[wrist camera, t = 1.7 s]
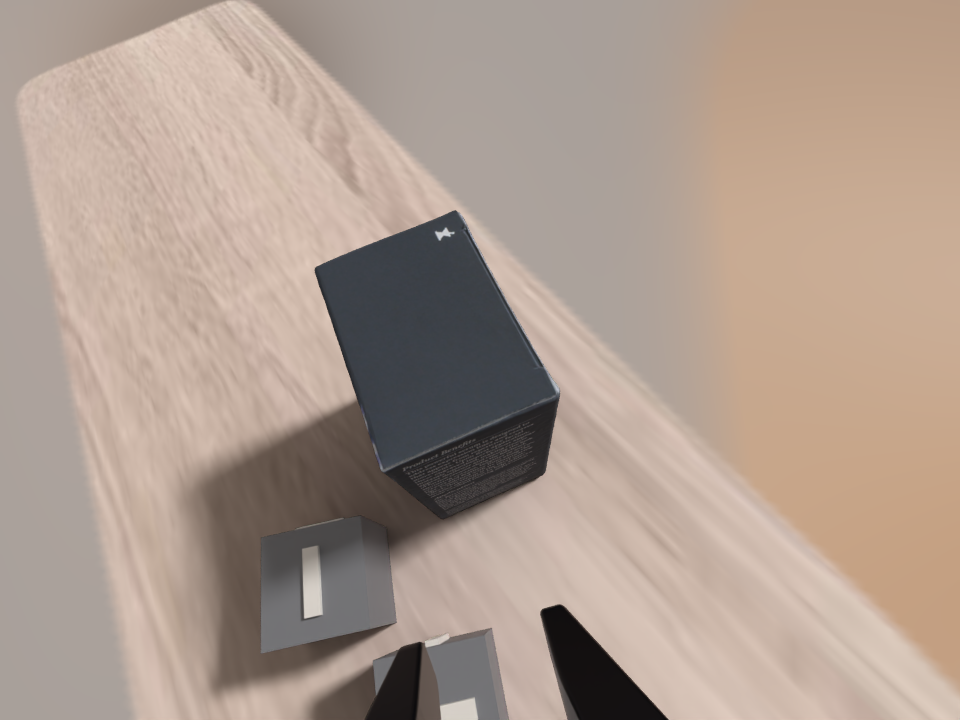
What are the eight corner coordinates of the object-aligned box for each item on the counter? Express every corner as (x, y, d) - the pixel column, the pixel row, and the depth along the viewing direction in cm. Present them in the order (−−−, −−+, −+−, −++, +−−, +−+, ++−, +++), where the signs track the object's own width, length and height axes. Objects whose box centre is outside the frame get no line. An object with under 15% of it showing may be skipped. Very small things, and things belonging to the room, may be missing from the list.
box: (388, 384, 26) (308, 262, 16) (485, 344, 26) (462, 203, 17) (439, 524, 22) (377, 474, 13) (549, 475, 23) (567, 392, 13)
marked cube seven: (397, 622, 21) (368, 629, 17) (306, 642, 21) (257, 654, 17) (386, 523, 23) (358, 509, 19) (303, 541, 23) (258, 531, 19)
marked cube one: (513, 743, 19) (510, 781, 15) (412, 766, 19) (383, 811, 15) (491, 622, 20) (482, 629, 17) (399, 643, 20) (370, 655, 17)
